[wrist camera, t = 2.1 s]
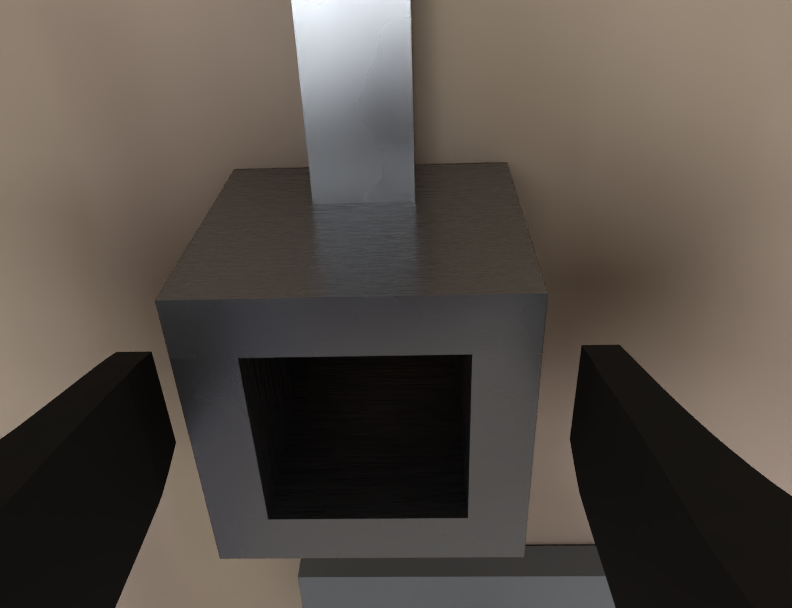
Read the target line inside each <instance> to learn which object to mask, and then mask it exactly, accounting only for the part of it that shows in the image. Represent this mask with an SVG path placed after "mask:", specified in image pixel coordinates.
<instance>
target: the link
mask: <svg viewBox="0 0 792 608" xmlns="http://www.w3.org/2000/svg"><path fill="white" fill-rule="evenodd" d="M291 2H292V11H293V21H294V30H295V40H296V49H297V59H298V68H299V78H300V87H301V97H302V106H303V116H304V125H305V135H306V144H307V154H308V163H309V168H285V169H246V170H234V171H233V172H232V174H231V176H230V177H229V179H228V181H227V182H226V184H225V186H224V187H223V189H222V191H221V192H220V194H219V196H218V197H217V199H216V200H215V202H214V204H213V205H212V207H211V209H210V210H209V212H208V214H207V215H206V217H205V219H204V220H203V222H202V224H201V225H200V227H199V229H198V230H197V232H196V234H195V235H194V237H193V239H192V240H191V242H190V243H189V245H188V247H187V248H186V250H185V252H184V253H183V255H182V257H181V258H180V260H179V262H178V263H177V265H176V267H175V268H174V270H173V272H172V273H171V275H170V277H169V278H168V280H167V282H166V283H165V285H164V286H163V288H162V290H161V291H160V293H159V295H158V296H157V298H156V300H155V303H156V307H157V311H158V315H159V319H160V322H161V326H162V330H163V334H164V338H165V342H166V346H167V350H168V354H169V358H170V362H171V366H172V370H173V374H174V378H175V382H176V386H177V390H178V394H179V398H180V402H181V406H182V410H183V414H184V418H185V422H186V426H187V430H188V434H189V437H190V441H191V445H192V449H193V453H194V457H195V461H196V465H197V469H198V473H199V477H200V481H201V485H202V489H203V493H204V497H205V501H206V505H207V509H208V513H209V517H210V521H211V525H212V529H213V533H214V537H215V541H216V545H217V549H218V553H219V556H220V559H229V558H447V557H524V552H525V541H526V530H527V519H528V508H529V497H530V486H531V474H532V463H533V452H534V441H535V430H536V419H537V408H538V397H539V386H540V375H541V364H542V353H543V342H544V330H545V319H546V308H547V297H548V292H547V289H546V286H545V282H544V279H543V276H542V273H541V270H540V267H539V263H538V260H537V257H536V254H535V251H534V248H533V244H532V241H531V238H530V235H529V232H528V229H527V225H526V222H525V219H524V216H523V213H522V209H521V206H520V203H519V200H518V197H517V194H516V190H515V187H514V184H513V181H512V178H511V175H510V171H509V168H508V165H507V163H478V164H439V165H415V144H414V100H413V55H412V11H411V0H291Z"/></svg>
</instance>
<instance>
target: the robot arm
mask: <svg viewBox="0 0 792 608" xmlns="http://www.w3.org/2000/svg"><path fill="white" fill-rule="evenodd" d="M570 442H571V448H572V454H573V460H574V466H575V471H576V477H577V482H578V487H579V493H580V496H581V499H582V503H583V506H584V509H585V512H586V516H587V519H588V522H589V525H590V529H591V532H592V535H593V538H594V541H595V545H596V548H597V551H598V554H599V557H600V560H601V563H602V567H603V570H604V573H605V576H606V579H607V582H608V586H609V589H610V592H611V595H612V598H613V601H614V605H615V608H792V496H791V495H789V494H788V493H786V492H785V491H784V490H782V489H781V488H779V487H778V486H777V485H775V484H774V483H772V482H771V481H770V480H768V479H767V478H766V477H764V476H763V475H762V474H760V473H759V472H758V471H757V470H755V469H754V468H753V467H751V466H750V465H749V464H748V463H747V462H745V461H744V460H743V459H742V458H740V457H739V456H738V455H737V454H736V453H734V452H733V451H732V450H731V449H729V448H728V447H727V446H726V445H725V444H723V443H722V442H721V441H720V440H719V439H717V438H716V437H715V436H714V435H713V434H712V433H711V432H709V431H708V430H707V429H706V428H705V427H704V426H703V425H702V424H700V423H699V422H698V421H697V420H696V419H695V418H694V417H693V416H692V415H691V414H690V413H688V412H687V411H686V410H685V409H684V408H683V407H682V406H681V405H680V404H679V403H678V402H677V401H676V400H675V399H674V398H672V397H671V396H670V395H669V394H668V393H667V392H666V391H665V390H664V389H663V388H662V387H661V386H660V385H659V384H658V383H657V382H656V381H655V380H654V379H653V378H652V377H651V376H650V375H649V374H648V373H647V372H646V371H645V370H644V369H643V368H642V367H641V366H640V365H639V364H638V363H637V362H636V361H635V360H634V359H633V358H632V357H631V356H630V355H629V354H628V353H627V352H626V351H625V350H624V349H623V348H622V347H621V346H620V345H582V347H581V355H580V363H579V371H578V379H577V387H576V395H575V403H574V410H573V418H572V426H571V434H570ZM175 444H176V441H175V437H174V433H173V429H172V426H171V422H170V418H169V415H168V411H167V407H166V403H165V400H164V396H163V392H162V389H161V385H160V381H159V378H158V374H157V370H156V366H155V363H154V359H153V355H152V352H116V353H114V354H113V355H111V356H110V357H108V358H107V359H105V360H104V361H103V362H101V363H100V364H99V365H97V366H96V367H95V368H93V369H92V370H91V371H89V372H88V373H87V374H86V375H84V376H83V377H82V378H80V379H79V380H78V381H77V382H75V383H74V384H73V385H71V386H70V387H69V388H68V389H66V390H65V391H64V392H62V393H61V394H60V395H59V396H57V397H56V398H55V399H53V400H52V401H51V402H49V403H48V404H47V405H46V406H44V407H43V408H42V409H40V410H39V411H38V412H36V413H35V414H34V415H33V416H31V417H30V418H29V419H27V420H26V421H25V422H23V423H22V424H21V425H20V426H18V427H17V428H15V429H14V430H13V431H11V432H10V433H8V434H7V435H6V436H4V437H3V438H1V439H0V608H115V607H116V604H117V602H118V600H119V597H120V595H121V593H122V590H123V588H124V585H125V583H126V581H127V578H128V576H129V574H130V571H131V569H132V567H133V564H134V562H135V560H136V557H137V555H138V552H139V550H140V548H141V545H142V543H143V541H144V538H145V536H146V533H147V531H148V529H149V526H150V524H151V521H152V519H153V516H154V514H155V512H156V509H157V507H158V504H159V502H160V499H161V497H162V494H163V490H164V487H165V483H166V479H167V476H168V472H169V468H170V464H171V460H172V456H173V452H174V448H175Z"/></svg>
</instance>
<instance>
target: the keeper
mask: <svg viewBox="0 0 792 608" xmlns="http://www.w3.org/2000/svg"><path fill="white" fill-rule="evenodd" d="M298 580H299V586H300V592H301V598H302V604H303V608H615V605H614V601H613V598H612V595H611V592H610V589H609V586H608V582H607V579H606V576H605V573H604V570H603V567H602V563H601V560H600V557H599V554H598V551H597V548H596V545H593V546H525V552H524V557H447V558H301V562H300V568H299V574H298Z"/></svg>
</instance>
